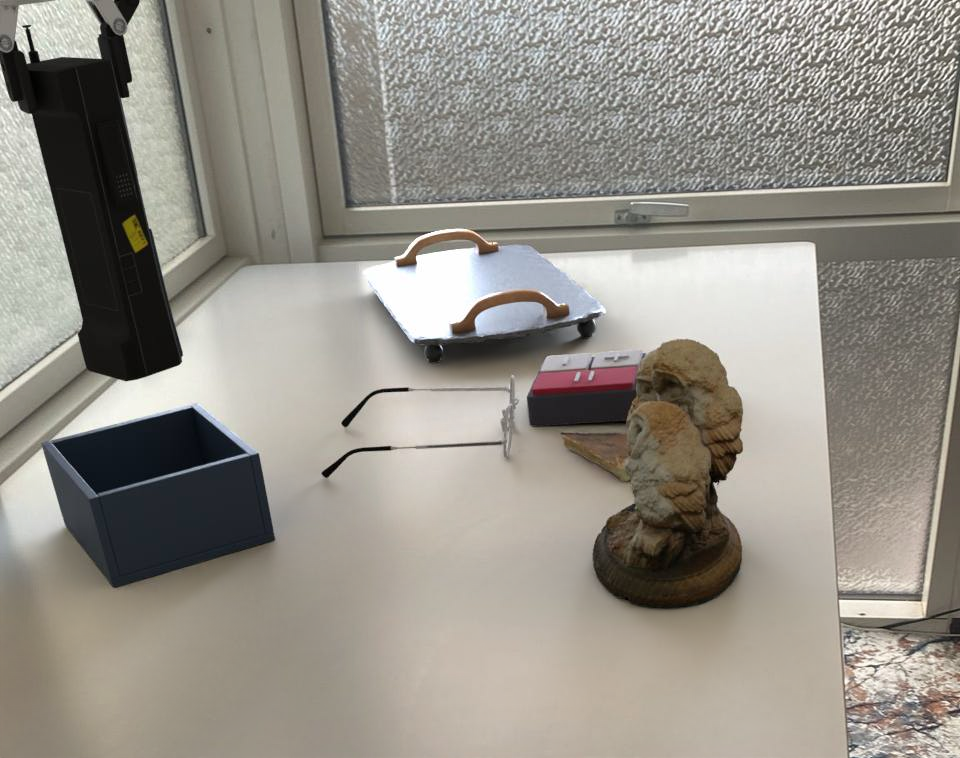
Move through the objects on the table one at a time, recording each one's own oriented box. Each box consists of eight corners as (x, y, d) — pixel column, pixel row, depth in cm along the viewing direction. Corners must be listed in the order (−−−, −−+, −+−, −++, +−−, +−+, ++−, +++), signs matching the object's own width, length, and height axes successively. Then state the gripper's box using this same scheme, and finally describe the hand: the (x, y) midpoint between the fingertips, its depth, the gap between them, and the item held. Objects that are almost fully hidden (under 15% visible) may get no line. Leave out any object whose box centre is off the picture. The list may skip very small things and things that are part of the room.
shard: (560, 447, 127) (559, 429, 126) (629, 429, 129) (629, 410, 128) (618, 484, 119) (618, 465, 118) (691, 464, 121) (691, 444, 120)
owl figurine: (592, 513, 115) (586, 308, 104) (731, 507, 113) (739, 298, 103) (593, 613, 100) (586, 387, 90) (751, 607, 99) (763, 377, 89)
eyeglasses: (518, 474, 123) (514, 420, 120) (319, 484, 125) (311, 432, 122) (524, 411, 135) (521, 362, 132) (344, 422, 137) (336, 373, 134)
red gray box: (542, 352, 138) (688, 341, 135) (546, 393, 141) (689, 384, 137) (524, 389, 130) (680, 379, 126) (529, 433, 132) (681, 423, 129)
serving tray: (358, 287, 177) (351, 237, 173) (525, 261, 180) (522, 211, 176) (420, 375, 147) (414, 317, 143) (620, 342, 150) (619, 284, 146)
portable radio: (196, 365, 113) (126, 18, 97) (138, 386, 109) (56, 30, 94) (141, 350, 117) (66, 17, 102) (84, 370, 114) (-3, 29, 99)
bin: (113, 588, 111) (88, 499, 106) (65, 525, 122) (40, 442, 117) (275, 540, 116) (259, 453, 111) (214, 484, 127) (197, 403, 122)
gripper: (112, -205, 95) (167, 81, 106) (-137, -184, 89) (-51, 117, 100) (144, -211, 90) (199, 90, 101) (-118, -189, 84) (-29, 129, 95)
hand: (74, 101), depth 101 cm, fingers closed on portable radio, 6 cm apart
